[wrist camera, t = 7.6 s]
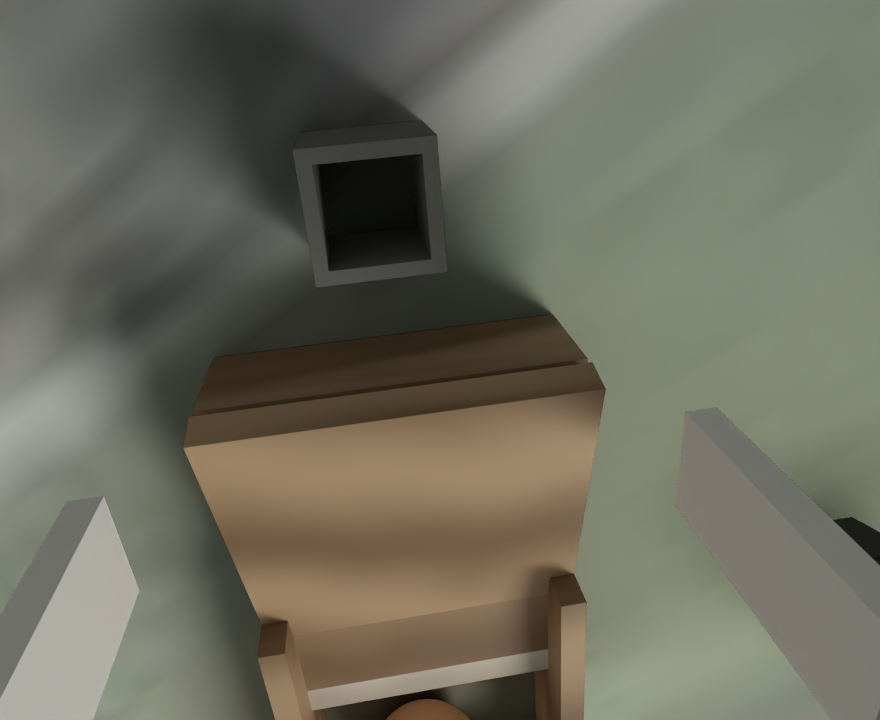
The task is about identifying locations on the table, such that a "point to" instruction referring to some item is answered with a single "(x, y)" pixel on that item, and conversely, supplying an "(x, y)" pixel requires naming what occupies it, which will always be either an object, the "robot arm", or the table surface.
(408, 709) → the ball
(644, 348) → the table surface
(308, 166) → the hollow square sleeve
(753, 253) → the table surface
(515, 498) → the brown open box
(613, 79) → the table surface
